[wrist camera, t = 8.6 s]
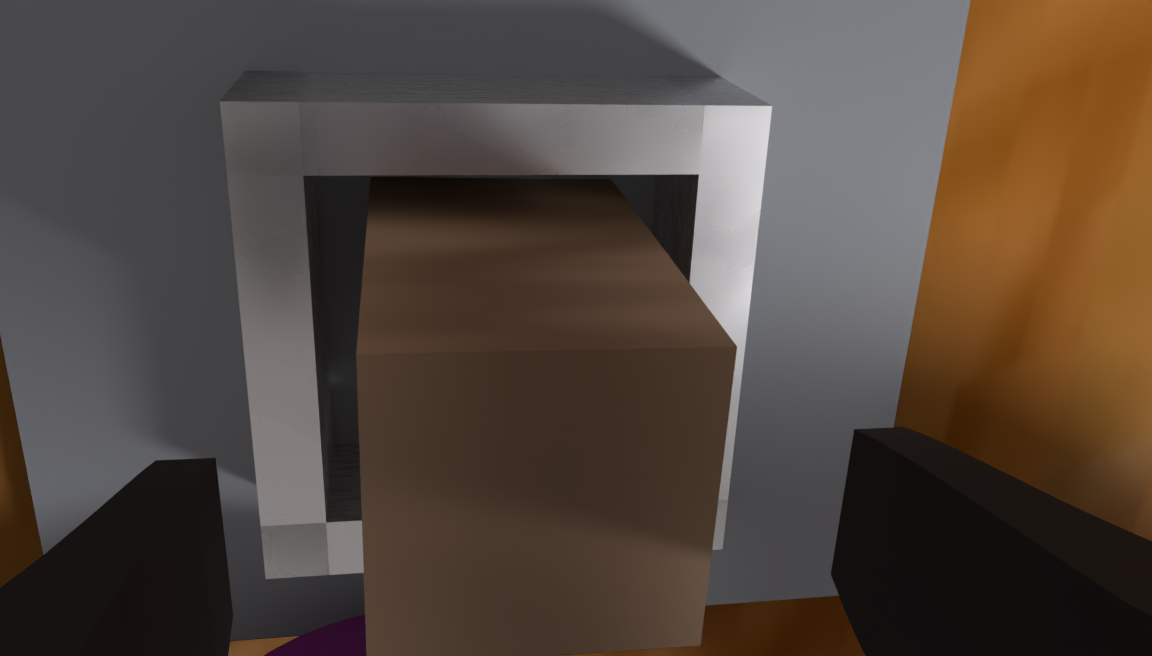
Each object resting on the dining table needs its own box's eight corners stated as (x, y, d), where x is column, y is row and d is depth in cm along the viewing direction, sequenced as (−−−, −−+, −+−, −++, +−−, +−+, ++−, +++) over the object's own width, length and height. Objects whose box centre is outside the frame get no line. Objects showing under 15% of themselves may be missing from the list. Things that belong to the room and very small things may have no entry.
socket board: (967, -122, 17) (1088, -125, 14) (848, 571, 23) (917, 675, 20) (-76, -173, 14) (-198, -189, 11) (74, 625, 20) (17, 756, 17)
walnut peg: (612, 179, 17) (737, 346, 11) (597, 391, 19) (700, 646, 12) (370, 176, 17) (356, 354, 10) (376, 397, 18) (367, 668, 12)
